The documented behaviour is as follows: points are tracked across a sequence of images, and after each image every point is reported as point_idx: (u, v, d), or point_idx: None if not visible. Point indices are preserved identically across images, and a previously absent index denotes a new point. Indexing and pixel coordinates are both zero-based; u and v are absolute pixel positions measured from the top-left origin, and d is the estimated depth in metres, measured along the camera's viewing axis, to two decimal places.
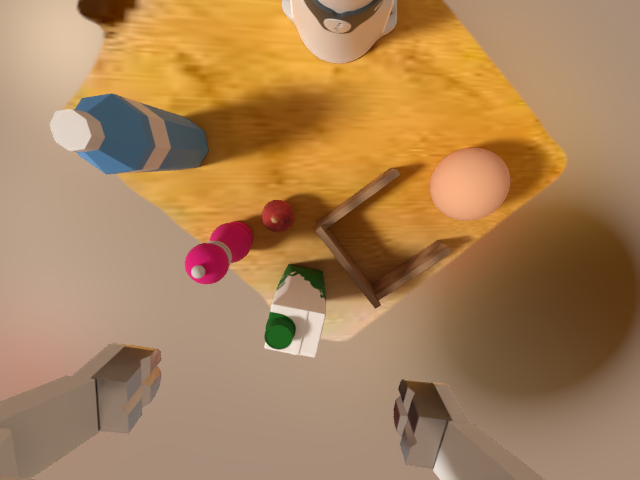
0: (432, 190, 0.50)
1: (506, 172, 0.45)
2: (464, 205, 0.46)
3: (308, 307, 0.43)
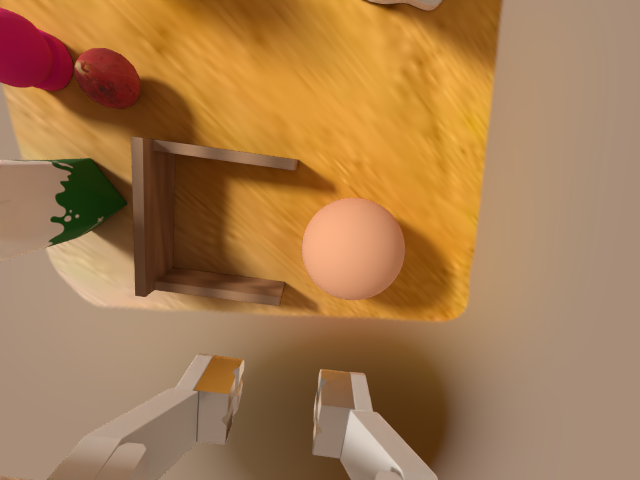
0: (311, 219, 0.34)
1: (394, 268, 0.31)
2: (321, 264, 0.30)
3: None
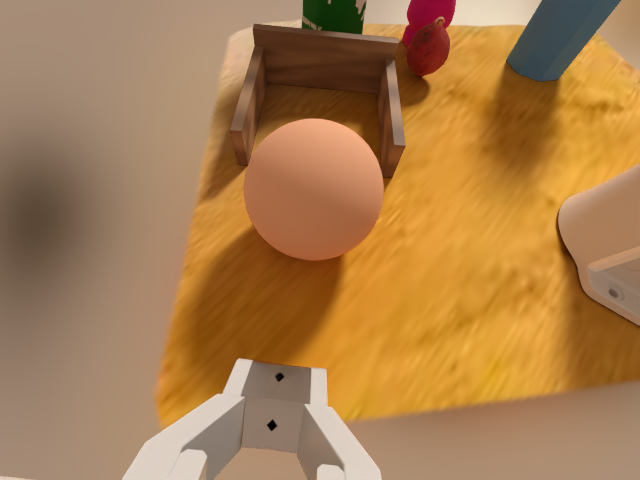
0: None
1: (308, 198, 0.20)
2: None
3: None
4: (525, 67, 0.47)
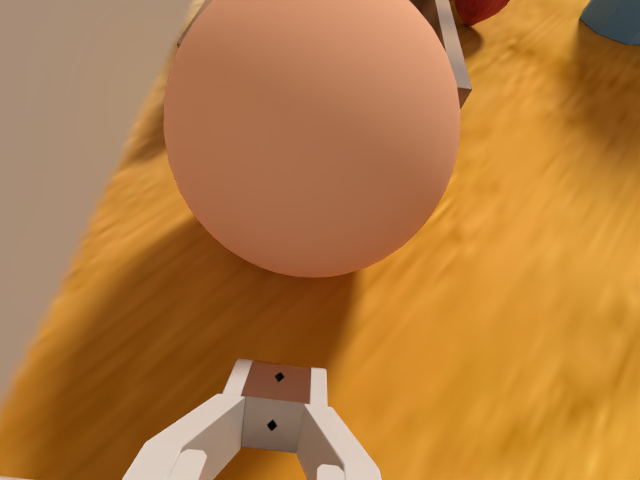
0: None
1: (295, 120, 0.07)
2: None
3: None
4: (610, 24, 0.35)
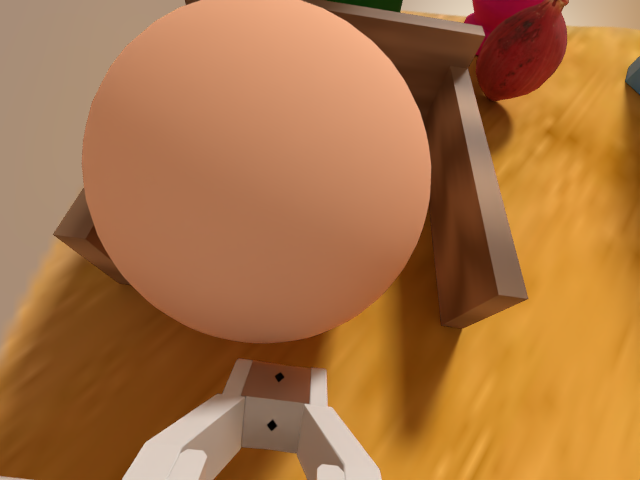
0: None
1: None
2: None
3: None
4: None
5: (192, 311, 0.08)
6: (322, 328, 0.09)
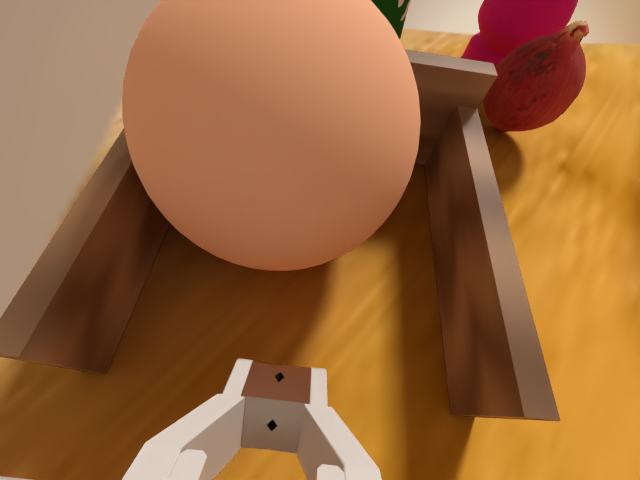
0: (355, 246, 0.12)
1: None
2: None
3: None
4: None
5: None
6: (363, 50, 0.08)
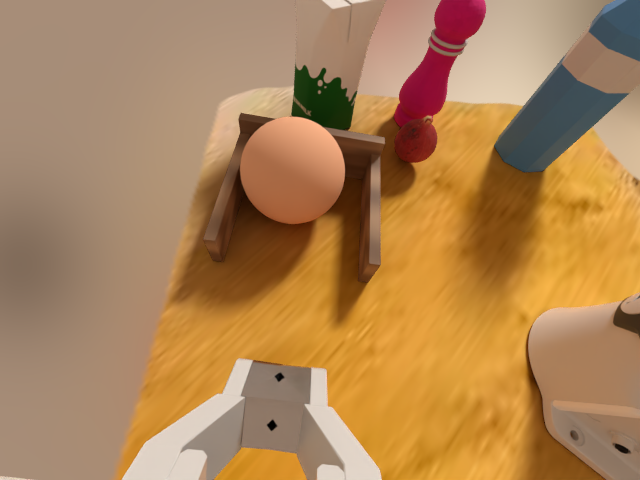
0: (320, 214, 0.33)
1: None
2: None
3: (351, 12, 0.32)
4: (511, 158, 0.48)
5: (286, 137, 0.29)
6: (320, 156, 0.29)
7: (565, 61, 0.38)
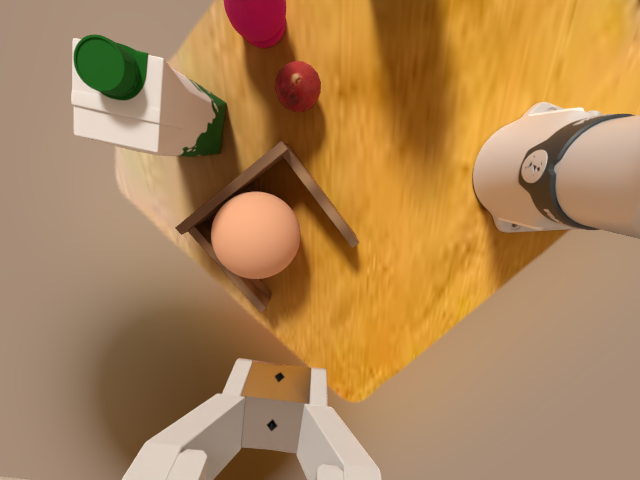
0: None
1: None
2: None
3: (165, 124, 0.27)
4: None
5: (248, 258, 0.35)
6: (276, 244, 0.36)
7: None
